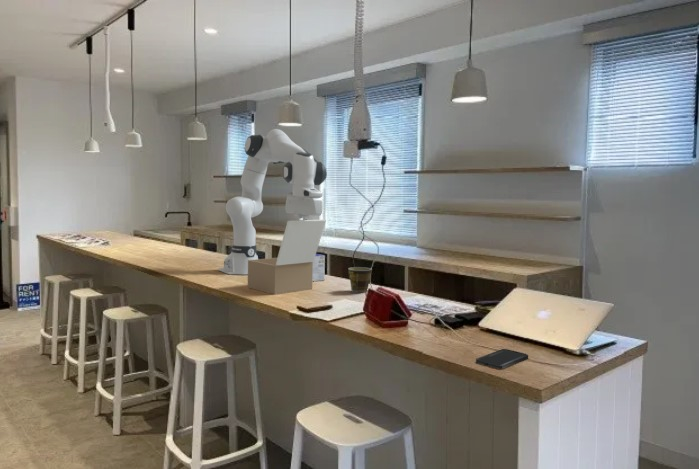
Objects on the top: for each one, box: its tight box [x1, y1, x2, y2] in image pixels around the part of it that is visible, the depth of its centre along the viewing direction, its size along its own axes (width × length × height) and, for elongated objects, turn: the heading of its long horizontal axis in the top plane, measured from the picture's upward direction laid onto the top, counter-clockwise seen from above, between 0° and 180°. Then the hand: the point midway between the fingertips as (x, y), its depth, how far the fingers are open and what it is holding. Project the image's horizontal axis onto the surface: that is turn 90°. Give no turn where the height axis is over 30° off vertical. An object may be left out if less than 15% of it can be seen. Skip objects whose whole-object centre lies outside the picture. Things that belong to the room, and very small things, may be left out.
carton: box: [247, 257, 313, 295], centre depth 237 cm, size 20×20×12 cm
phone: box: [475, 348, 529, 370], centre depth 144 cm, size 8×1×15 cm
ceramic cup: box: [347, 266, 372, 294], centre depth 232 cm, size 13×10×10 cm
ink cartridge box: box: [312, 253, 326, 282], centre depth 259 cm, size 10×6×14 cm, turn 126°
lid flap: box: [276, 219, 327, 265], centre depth 225 cm, size 20×20×1 cm
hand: (302, 225), depth 224 cm, fingers closed
